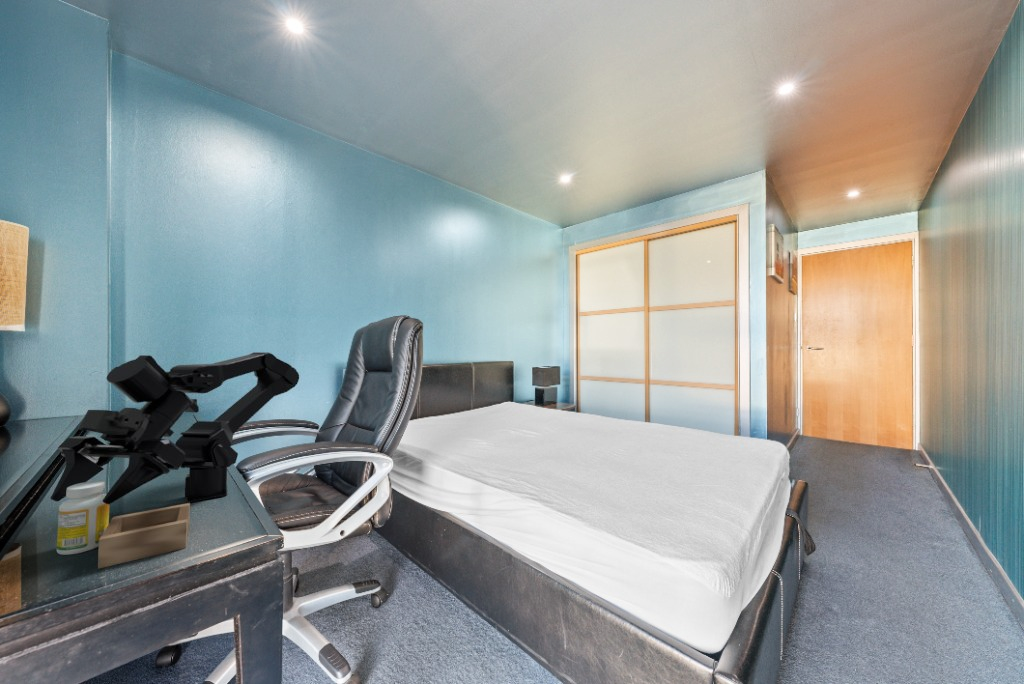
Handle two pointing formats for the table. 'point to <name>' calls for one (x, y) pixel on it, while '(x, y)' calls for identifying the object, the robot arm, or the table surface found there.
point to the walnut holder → (144, 535)
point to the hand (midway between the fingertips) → (79, 501)
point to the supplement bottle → (82, 518)
